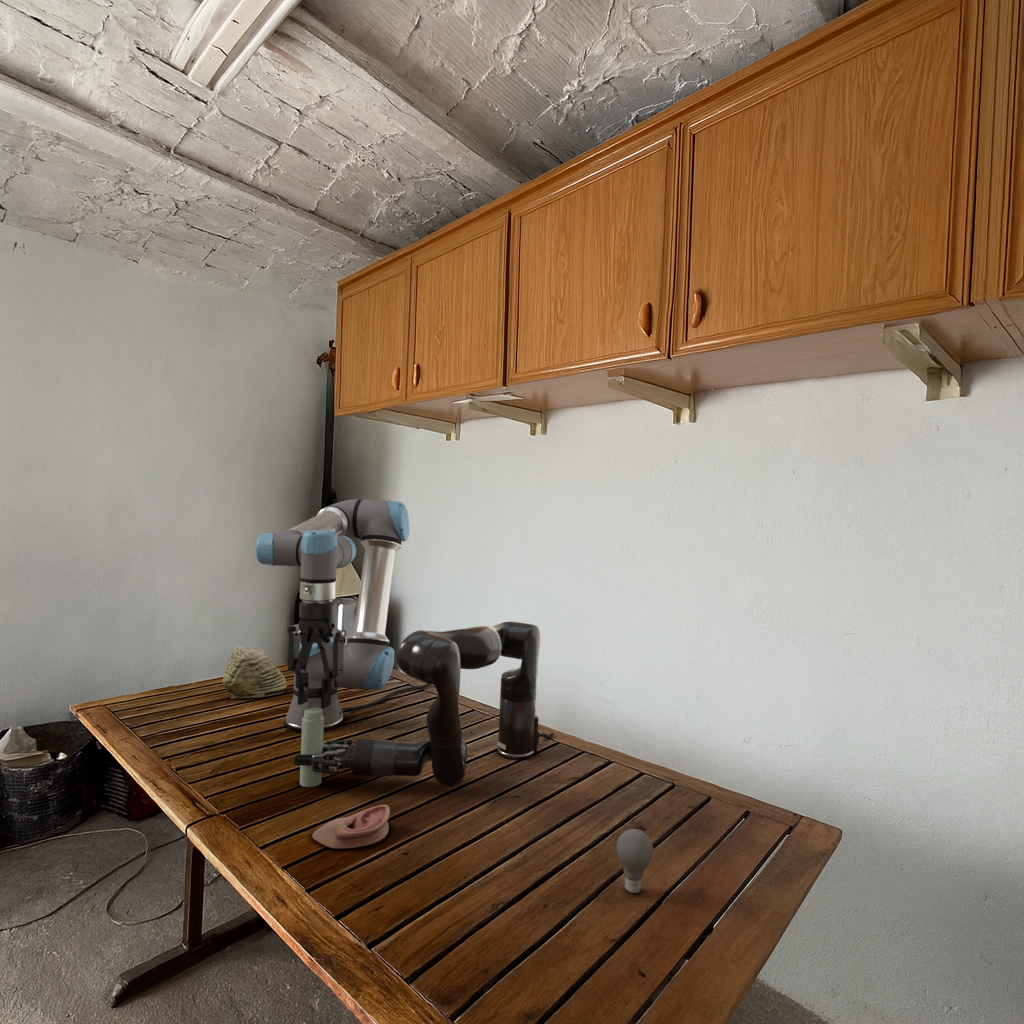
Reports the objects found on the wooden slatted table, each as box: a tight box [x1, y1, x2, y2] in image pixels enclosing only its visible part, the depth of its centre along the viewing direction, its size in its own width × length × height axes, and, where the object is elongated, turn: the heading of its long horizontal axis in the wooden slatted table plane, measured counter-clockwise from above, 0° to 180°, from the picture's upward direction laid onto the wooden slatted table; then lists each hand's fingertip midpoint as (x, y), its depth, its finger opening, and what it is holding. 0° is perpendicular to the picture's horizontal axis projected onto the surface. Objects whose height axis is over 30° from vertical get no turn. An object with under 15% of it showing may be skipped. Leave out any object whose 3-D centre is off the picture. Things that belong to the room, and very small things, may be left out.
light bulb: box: [615, 828, 654, 894], centre depth 106 cm, size 6×6×10 cm
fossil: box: [222, 646, 288, 699], centre depth 198 cm, size 9×18×15 cm, turn 132°
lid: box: [302, 681, 322, 697], centre depth 140 cm, size 5×5×2 cm
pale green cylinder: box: [299, 708, 324, 788], centre depth 140 cm, size 5×5×16 cm
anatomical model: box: [311, 804, 391, 850], centre depth 119 cm, size 13×4×12 cm
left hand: (314, 704), depth 140 cm, fingers closed on lid, 5 cm apart
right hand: (299, 754), depth 140 cm, fingers closed on pale green cylinder, 4 cm apart
